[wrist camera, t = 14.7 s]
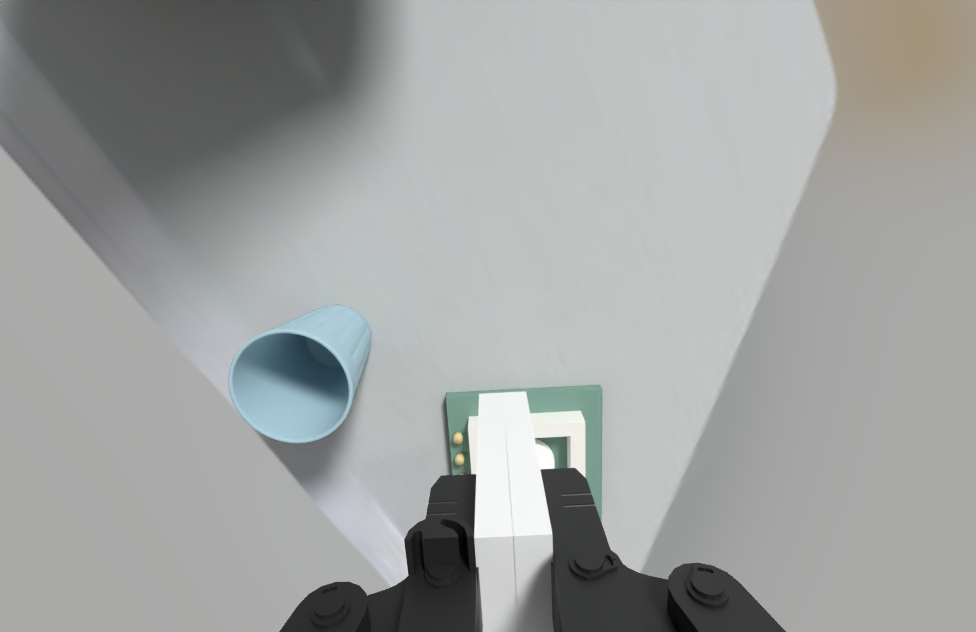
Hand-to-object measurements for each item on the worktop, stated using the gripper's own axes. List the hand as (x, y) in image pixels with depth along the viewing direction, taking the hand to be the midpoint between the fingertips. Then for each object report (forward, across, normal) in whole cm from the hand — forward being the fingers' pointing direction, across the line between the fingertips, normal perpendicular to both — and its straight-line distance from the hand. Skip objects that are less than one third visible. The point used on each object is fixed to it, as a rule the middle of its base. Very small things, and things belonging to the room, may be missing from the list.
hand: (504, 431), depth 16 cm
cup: (+25, -13, -4) cm, 28 cm away
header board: (+24, +2, -16) cm, 29 cm away
